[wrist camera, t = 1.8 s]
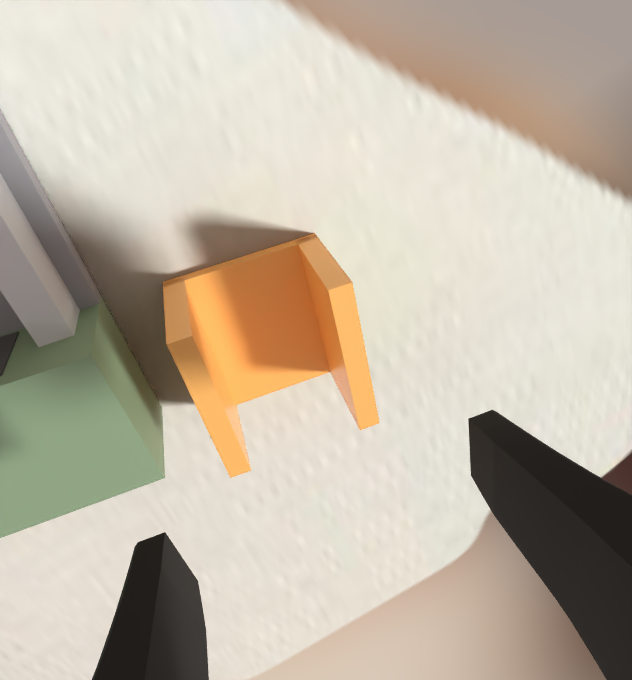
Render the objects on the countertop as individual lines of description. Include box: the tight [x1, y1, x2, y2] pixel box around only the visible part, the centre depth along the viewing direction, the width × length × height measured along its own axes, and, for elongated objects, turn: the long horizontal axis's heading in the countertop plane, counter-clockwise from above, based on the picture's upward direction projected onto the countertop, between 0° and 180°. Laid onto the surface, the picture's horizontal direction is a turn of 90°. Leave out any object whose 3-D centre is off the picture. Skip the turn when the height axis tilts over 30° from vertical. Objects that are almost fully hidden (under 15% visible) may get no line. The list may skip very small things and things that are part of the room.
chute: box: [163, 233, 379, 478], centre depth 17 cm, size 5×6×4 cm
